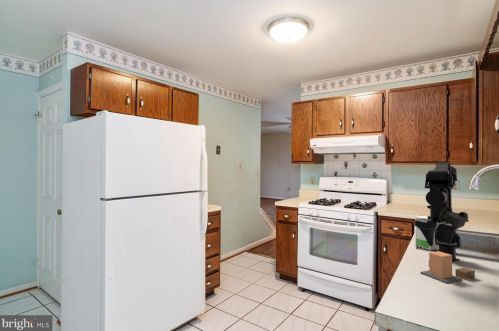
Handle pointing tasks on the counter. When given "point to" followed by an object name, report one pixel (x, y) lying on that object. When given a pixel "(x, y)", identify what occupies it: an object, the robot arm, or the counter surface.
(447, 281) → the charcoal mat
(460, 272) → the walnut block
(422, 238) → the skincare box
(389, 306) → the counter surface
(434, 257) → the terracotta block
